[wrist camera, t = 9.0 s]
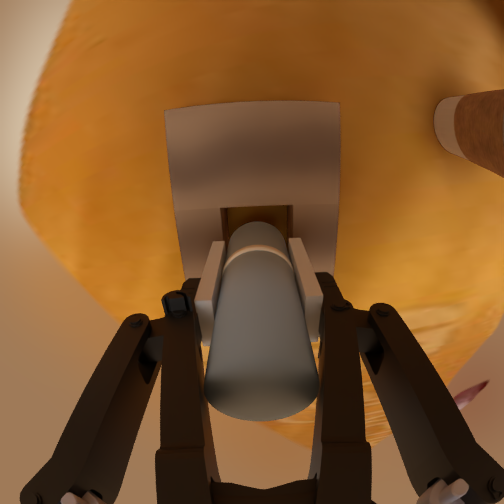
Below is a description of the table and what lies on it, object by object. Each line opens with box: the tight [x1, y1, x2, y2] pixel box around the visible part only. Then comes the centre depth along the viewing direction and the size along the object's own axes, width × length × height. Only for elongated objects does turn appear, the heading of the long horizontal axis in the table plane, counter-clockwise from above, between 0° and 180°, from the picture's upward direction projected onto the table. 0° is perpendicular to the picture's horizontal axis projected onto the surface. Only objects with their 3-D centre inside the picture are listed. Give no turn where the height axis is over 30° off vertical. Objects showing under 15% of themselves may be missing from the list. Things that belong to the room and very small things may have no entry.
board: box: [164, 101, 340, 341], centre depth 23 cm, size 20×12×4 cm, turn 3°
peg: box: [203, 221, 320, 421], centre depth 14 cm, size 4×4×12 cm
